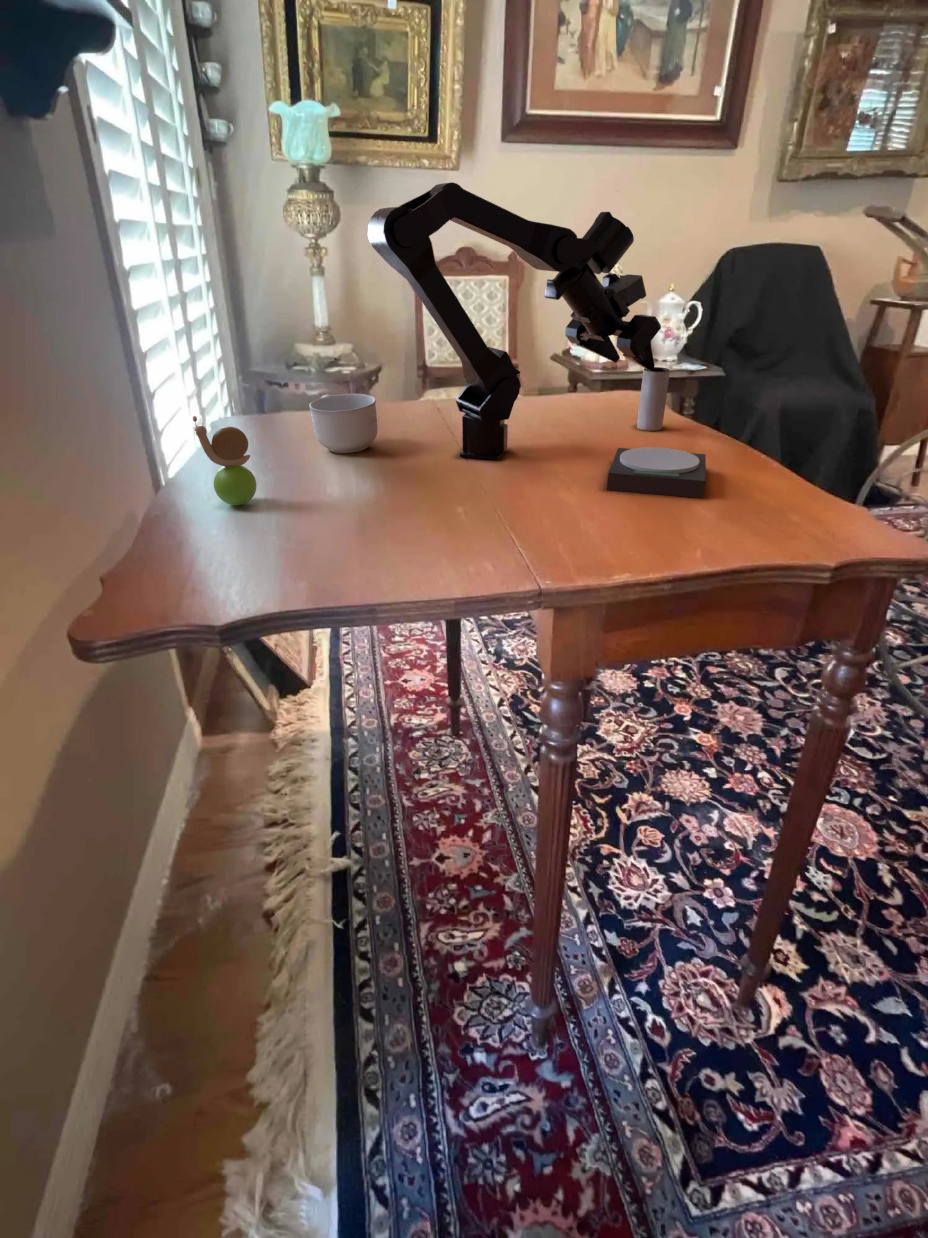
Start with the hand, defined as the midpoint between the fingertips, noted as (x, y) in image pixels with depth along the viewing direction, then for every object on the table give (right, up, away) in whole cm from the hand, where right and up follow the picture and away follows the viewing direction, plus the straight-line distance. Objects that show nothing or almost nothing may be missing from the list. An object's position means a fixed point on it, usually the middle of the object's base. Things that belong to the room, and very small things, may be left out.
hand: (634, 364), depth 119 cm
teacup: (-50, -15, -1) cm, 52 cm away
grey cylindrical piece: (+5, -9, +8) cm, 13 cm away
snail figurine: (-60, -29, -26) cm, 72 cm away
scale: (-1, -24, -18) cm, 30 cm away
